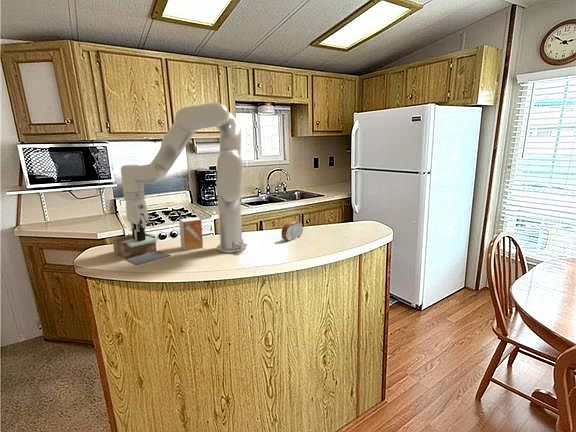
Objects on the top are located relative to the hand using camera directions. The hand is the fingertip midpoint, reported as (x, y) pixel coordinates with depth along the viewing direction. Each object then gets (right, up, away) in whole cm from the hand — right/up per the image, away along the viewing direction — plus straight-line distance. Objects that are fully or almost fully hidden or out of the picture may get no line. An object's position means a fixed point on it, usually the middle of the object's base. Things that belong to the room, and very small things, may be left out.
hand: (139, 239), depth 133 cm
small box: (+19, -5, +10) cm, 22 cm away
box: (-4, -6, +4) cm, 8 cm away
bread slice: (+64, -2, +22) cm, 68 cm away
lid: (0, -1, 0) cm, 1 cm away
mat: (+5, -7, -3) cm, 9 cm away
